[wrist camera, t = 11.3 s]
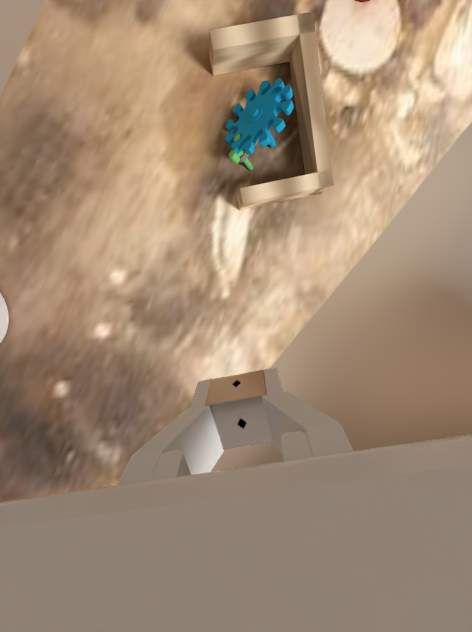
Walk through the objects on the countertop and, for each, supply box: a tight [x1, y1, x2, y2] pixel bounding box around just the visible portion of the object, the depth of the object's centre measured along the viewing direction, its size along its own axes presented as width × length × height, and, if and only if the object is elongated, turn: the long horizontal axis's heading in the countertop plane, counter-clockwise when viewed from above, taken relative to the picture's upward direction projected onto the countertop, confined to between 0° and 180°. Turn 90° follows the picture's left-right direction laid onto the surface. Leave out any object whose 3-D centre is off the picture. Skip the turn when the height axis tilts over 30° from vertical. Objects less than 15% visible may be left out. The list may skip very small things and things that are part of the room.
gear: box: [226, 78, 294, 171], centre depth 36 cm, size 11×6×10 cm
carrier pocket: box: [209, 12, 334, 210], centre depth 36 cm, size 13×20×4 cm, turn 12°
